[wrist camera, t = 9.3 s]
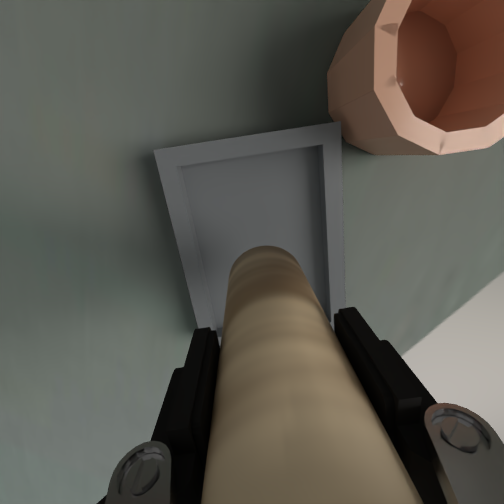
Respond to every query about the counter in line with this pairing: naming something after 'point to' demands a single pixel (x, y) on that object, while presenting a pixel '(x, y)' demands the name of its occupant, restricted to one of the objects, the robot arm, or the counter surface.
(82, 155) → the counter surface
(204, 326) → the tray
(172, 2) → the counter surface
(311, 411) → the peg
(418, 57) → the cup
